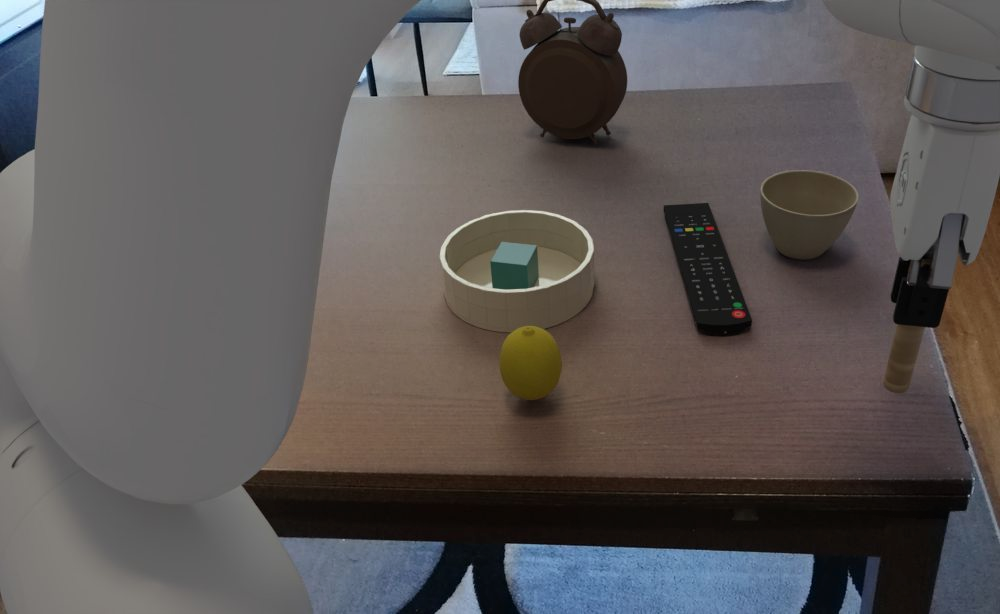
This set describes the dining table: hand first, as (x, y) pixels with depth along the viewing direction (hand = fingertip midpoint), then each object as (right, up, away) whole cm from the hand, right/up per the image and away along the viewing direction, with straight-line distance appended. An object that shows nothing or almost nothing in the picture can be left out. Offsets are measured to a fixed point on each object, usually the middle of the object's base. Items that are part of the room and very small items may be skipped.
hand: (913, 311), depth 67 cm
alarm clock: (-21, +25, +57) cm, 66 cm away
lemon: (-29, -8, +13) cm, 33 cm away
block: (-30, +3, +27) cm, 41 cm away
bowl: (-30, +3, +27) cm, 41 cm away
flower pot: (+1, +7, +30) cm, 31 cm away
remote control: (-10, +4, +28) cm, 30 cm away
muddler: (+1, -6, +4) cm, 8 cm away
